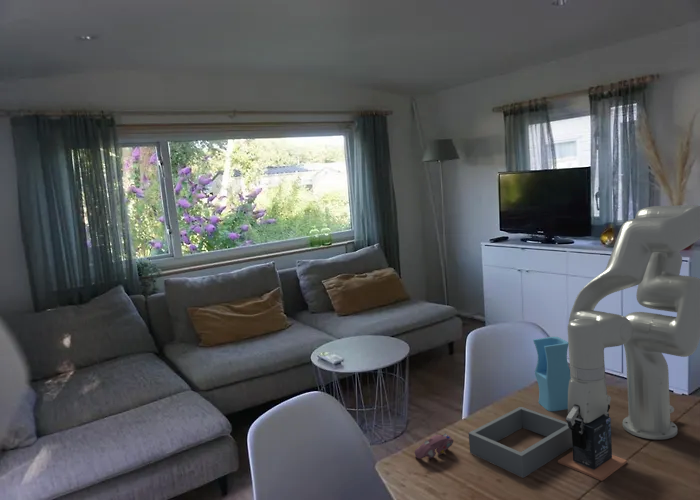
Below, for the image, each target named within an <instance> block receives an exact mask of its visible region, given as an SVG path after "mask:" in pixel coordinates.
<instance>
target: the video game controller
mask: <svg viewBox="0 0 700 500" xmlns="http://www.w3.org/2000/svg"><path fill="white" fill-rule="evenodd" d="M453 443H454V439H452V437H451V436H450V435H449V434H447V433H443V434H435V435H433V436H431V437H430V438H429V439H428V440H425V441H423V443H422V444H420V445H419V446H418V447H417V448H415V450H414V456H415V457H416V458H417V459H423V458H426V457H428V459H429V460H431V459H433V458H434V457H435V456H436V453H437V454H438V455H439V456H440V455H443V454H444V453H445V452H446V451H447V450H448V449H449V448H450V447H451V446H452V445H453Z"/></svg>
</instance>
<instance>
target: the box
mask: <svg viewBox="0 0 700 500" xmlns="http://www.w3.org/2000/svg"><path fill="white" fill-rule="evenodd" d="M578 418H580V419H583V418H582V417H580V416H578ZM577 425H578V426H579V427H580V426H581V422H578V421H577ZM584 433H586V449H585V450H583V449H581V448H578V447H576V446H573V447H572V451H573V461H574V462H577V463H579V464H581V465H584V466H586V467H588V468H591V469H593V470H594V469H596V468H597V467H599V466H600V465H602V464H603V463H605V462H606V461H608V460H609V459H611V458H612V455H613V450H612V449H613V448H612V447H613V446H612V445H613V444H612V420H611V416H609V417H608V416H605V415H601V416H600V417H598V418H597V419H595V420H593V421H591V422H590V423H587V424H586V426H585V429H584Z"/></svg>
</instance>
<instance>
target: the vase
mask: <svg viewBox="0 0 700 500" xmlns="http://www.w3.org/2000/svg"><path fill="white" fill-rule="evenodd" d="M532 341H533V344H534V346H535V347H534V348H535V349H536V353H537V354H536V355H537V362H536V366H535V369H534V376H535V378H536V381H537V384H538V392H539V394H538V395H539V396H538V404H539V405H540V406H542V407H543V408H544V409H545V410H546V411H548V412H558V411H566V410H568V387H569V381H570V379H571V377H570V365H569V363H568V356H567V355H568V350H569V344H568V341H566V340H565V339H563V338H561V337H558V336H549V337H542V338H541V337H540V338H534V339H532Z"/></svg>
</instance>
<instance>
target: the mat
mask: <svg viewBox="0 0 700 500" xmlns="http://www.w3.org/2000/svg"><path fill="white" fill-rule="evenodd" d="M557 463H558V464H560V465H563V466H565V467H568V468H570V469H573V471H574V470H575V471H577V472H580V473H582V474H584V475H587V476H590V477H591V478H594V479H596V480H598V481H604V480H606V479H607V478H608V477H609V476H611V475H613V474H614V473H616V471H618V470H619V469H620V468H622V467H624V465H626V464H627V463H628V460H627V459H625V458H623V457H620V456H616V455H614V454H612V458H611V459H609V460H608V461H606V462H605V463H603V464H602V465H600V466H599V467H597V468H596V469H594V470H593V469H591V468H588V467H586V466H584V465H581V464H579V463H577V462H574V461H573V450H572V451H570V452H568V453H567V454H566V455H564V456H563V457H561V458H560V459H558V460H557Z"/></svg>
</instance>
